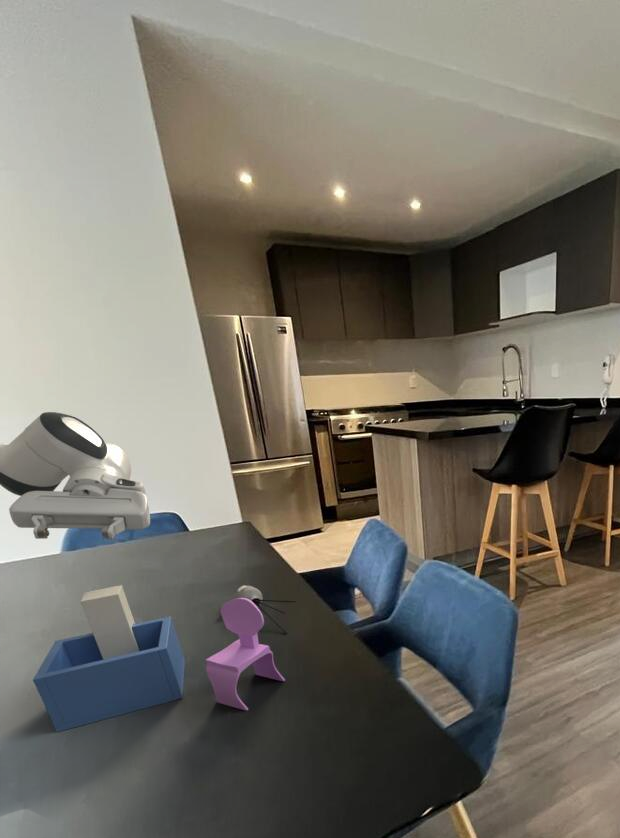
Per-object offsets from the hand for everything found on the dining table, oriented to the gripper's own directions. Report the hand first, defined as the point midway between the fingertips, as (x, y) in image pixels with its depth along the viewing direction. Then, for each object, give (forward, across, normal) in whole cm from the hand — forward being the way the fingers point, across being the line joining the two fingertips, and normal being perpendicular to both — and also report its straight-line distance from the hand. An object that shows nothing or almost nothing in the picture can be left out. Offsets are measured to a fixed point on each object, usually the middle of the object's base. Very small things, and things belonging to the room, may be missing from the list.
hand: (74, 535), depth 83 cm
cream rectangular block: (+16, +8, +13) cm, 22 cm away
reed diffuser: (+4, +29, +18) cm, 34 cm away
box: (+22, +9, +15) cm, 29 cm away
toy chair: (+29, +28, +10) cm, 41 cm away
